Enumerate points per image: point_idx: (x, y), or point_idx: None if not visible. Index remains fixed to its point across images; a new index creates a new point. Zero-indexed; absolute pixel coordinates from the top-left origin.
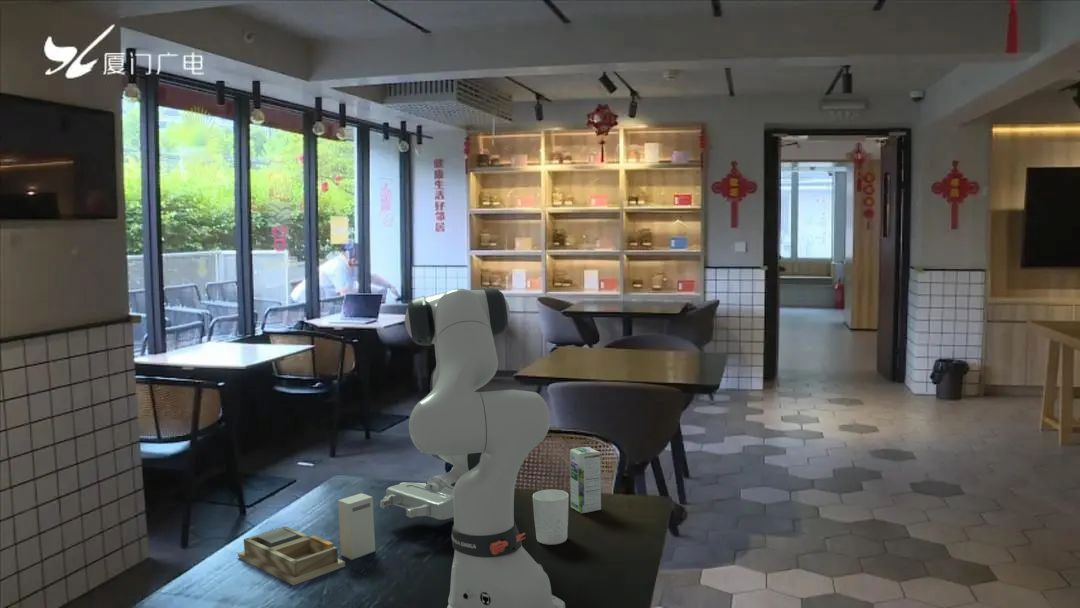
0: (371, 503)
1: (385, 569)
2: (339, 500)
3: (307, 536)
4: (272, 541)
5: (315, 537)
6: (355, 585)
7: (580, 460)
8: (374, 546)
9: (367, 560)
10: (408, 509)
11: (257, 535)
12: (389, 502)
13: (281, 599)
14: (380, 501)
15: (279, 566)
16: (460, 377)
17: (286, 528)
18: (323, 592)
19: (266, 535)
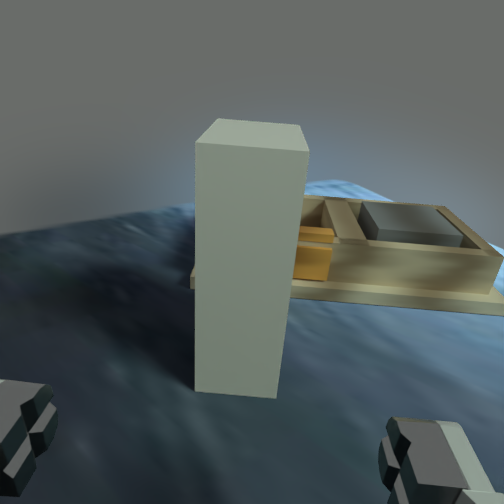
0: (196, 177)
1: (47, 317)
2: (291, 124)
3: (362, 242)
4: (371, 203)
5: (316, 230)
6: (82, 251)
7: None
8: (195, 372)
9: (157, 332)
10: (20, 385)
11: (455, 218)
12: (408, 491)
13: (185, 204)
14: (450, 422)
15: None
16: None
17: (478, 251)
18: (132, 225)
19: (425, 212)
